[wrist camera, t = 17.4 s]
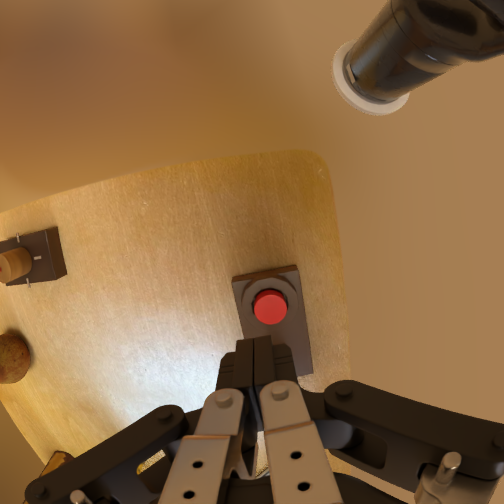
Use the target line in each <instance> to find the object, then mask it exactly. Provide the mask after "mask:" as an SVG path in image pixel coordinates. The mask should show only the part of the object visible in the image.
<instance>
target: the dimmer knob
mask: <svg viewBox="0 0 504 504" xmlns="http://www.w3.org/2000/svg"><path fill="white" fill-rule="evenodd" d="M31 267H32V260H31V256H30V254H29V252H28V251H27V250H26V249H25V248H23V247H19V248H16V249H13V250H10V251H7V252H4V253H1V254H0V282H2V283H8V282H10V281H12V280H14V279H17V278H19V277H21V276H23V275H25V274H27V273H29V272H30V270H31Z"/></svg>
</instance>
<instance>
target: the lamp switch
mask: <svg viewBox="0 0 504 504" xmlns="http://www.w3.org/2000/svg"><path fill="white" fill-rule="evenodd" d="M254 312H255V315H256V317H257V319H258V320H259V321H261V322H262V323H265V324H276V323H278V322H280V321H281V320H282V319H283V318H284V317H285V315H286V313H287V306H286V302H285V299H284V297H283V295H282V294H281V293H280V292H278V291H276V290H265V291H263V292H261V293H260V294H259V295H258V296H257V297H256V299H255V302H254Z"/></svg>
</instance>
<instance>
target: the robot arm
mask: <svg viewBox="0 0 504 504" xmlns="http://www.w3.org/2000/svg"><path fill="white" fill-rule="evenodd" d="M501 55H504V0H388V1H387V2H386V3H385V5H384V6H383V7H382V9H381V10H380V11H379V13H378V14H377V15H376V16H375V18H374V19H373V20H372V22H371V23H370V25H369V26H368V27H367V28H366V30H365V31H364V32H363V34H362V35H361V36H360V38H359V39H358V40H357V42H356V43H355V44H354V45H353V47H352V48H351V49H350V50H349V51H348V52H347V54H346V55H345V57H344V59H343V63H342V71H343V76H344V79H345V81H346V83H347V84H348V86H349V87H350V89H351V90H352V91H353V92H354V93H355V94H356V95H357V96H359V97H360V98H361V99H363V100H365V101H367V102H369V103H372V104H377V105H385V104H389V103H392V102H394V101H396V100H397V99H398V98H399V97H401V96H403V95H405V94H407V93H409V92H410V91H412V90H414V89H416V88H418V87H419V86H421V85H423V84H425V83H427V82H429V81H431V80H433V79H434V78H436V77H438V76H440V75H442V74H444V73H446V72H447V71H449V70H451V69H453V68H455V67H457V66H459V65H461V64H463V63H465V62H467V61H468V62H483V61H487V60H489V59H492V58H495V57H497V56H501ZM264 428H265V431H264ZM259 431H264V439H265V446H266V453H267V460H268V467H269V473H270V475H267V476H264V477H261V478H257V479H255V476H256V466H257V456H258V443H257V432H259ZM324 449H328V450H329V452H330V453H331V454H332V455H334V456H335V457H337V458H339V459H341V460H343V461H345V462H347V463H349V464H351V465H353V466H355V467H357V468H359V469H361V470H363V471H365V472H367V473H369V474H372V475H374V476H376V477H378V478H380V479H382V480H385V481H387V482H389V483H391V484H394V485H396V486H398V487H401V488H403V489H405V490H408V491H411V492H413V493H415V495H414V499H415V502H416V504H488V503H489V501H490V499H491V497H492V495H493V493H494V491H495V489H496V488H497V486H498V485H499V483H500V482H501V480H502V479H503V477H504V424H502V423H497V422H492V421H488V420H484V419H480V418H475V417H471V416H468V415H463V414H459V413H456V412H452V411H449V410H445V409H441V408H438V407H434V406H431V405H427V404H424V403H421V402H417V401H414V400H411V399H408V398H405V397H401V396H398V395H395V394H392V393H389V392H386V391H383V390H380V389H377V388H374V387H371V386H368V385H366V384H363V383H360V382H357V381H354V380H342V381H338V382H335V383H333V384H331V385H329V386H328V387H327V388H326V389H325V391H324V393H315V392H309V391H306V390H304V389H303V388H301V387H300V385H299V384H298V380H297V375H296V370H295V365H294V361H293V356H292V351H291V348H290V347H289V346H288V345H286V344H285V343H283V344H278V345H273V341H272V336H271V335H266V336H260V337H255V338H249V339H242V340H237V343H236V352H229V353H226V354H225V356H224V357H223V358H222V359H221V362H220V368H219V374H218V378H217V384H216V389H215V392H213V393H211V394H210V395H209V396H208V397H207V398H206V400H205V403H204V406H203V407H202V408H200V409H197V410H194V411H191V412H187V413H184V411H183V409H182V408H181V407H179V406H177V405H164V406H160V407H158V408H156V409H154V410H153V411H151V412H150V413H148V414H147V415H145V416H144V417H142V418H140V419H139V420H137V421H136V422H134V423H133V424H131V425H130V426H128V427H126V428H125V429H123V430H122V431H120V432H118V433H117V434H115V435H113V436H112V437H110V438H108V439H107V440H105V441H104V442H102V443H100V444H98V445H97V446H95V447H93V448H92V449H90V450H88V451H87V452H85V453H83V454H81V455H80V456H78V457H76V458H74V459H72V460H71V461H69V462H67V463H65V464H63V465H62V466H60V467H58V468H56V469H54V470H52V471H50V472H49V473H47V474H45V475H43V476H41V477H39V478H37V479H35V480H33V481H32V482H31V483H30V484H29V485H28V486H27V488H26V490H25V499H26V501H27V503H28V504H408V503H406V502H404V501H401V500H399V499H397V498H395V497H393V496H391V495H389V494H387V493H385V492H383V491H381V490H379V489H377V488H375V487H373V486H371V485H369V484H368V483H366V482H364V481H362V480H360V479H358V478H355V477H353V476H350V475H346V474H342V473H336V472H332V469H331V467H330V464H329V461H328V458H327V455H326V453H325V450H324ZM160 450H163V452H164V453H165V455H166V456H164V457H163V458H161V459H160V460H159V461H157V462H156V463H154V464H153V465H152V466H150V467H149V468H147V469H146V470H144V471H143V472H142V473H140V474H137V468H138V467H139V465H140V464H142V463H143V462H144V461H146V460H147V459H149V458H150V457H152V456H153V455H155V454H156V453H157V452H159V451H160Z"/></svg>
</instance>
